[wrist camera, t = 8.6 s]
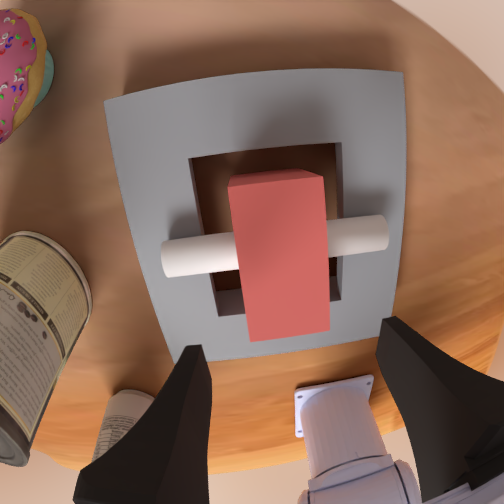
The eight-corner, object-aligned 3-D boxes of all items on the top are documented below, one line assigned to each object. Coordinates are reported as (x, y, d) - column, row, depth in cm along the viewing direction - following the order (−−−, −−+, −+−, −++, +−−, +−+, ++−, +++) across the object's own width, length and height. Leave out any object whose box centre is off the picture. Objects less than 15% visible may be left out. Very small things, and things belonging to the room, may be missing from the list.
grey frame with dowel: (374, 310, 24) (397, 351, 20) (179, 337, 24) (170, 384, 20) (380, 74, 16) (422, 70, 12) (121, 100, 16) (87, 101, 12)
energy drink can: (111, 411, 29) (84, 529, 16) (109, 379, 27) (71, 516, 13) (163, 423, 30) (150, 545, 17) (168, 393, 28) (151, 537, 14)
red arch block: (306, 282, 21) (330, 330, 15) (246, 290, 21) (250, 342, 15) (297, 167, 18) (323, 176, 13) (230, 175, 18) (227, 187, 13)
